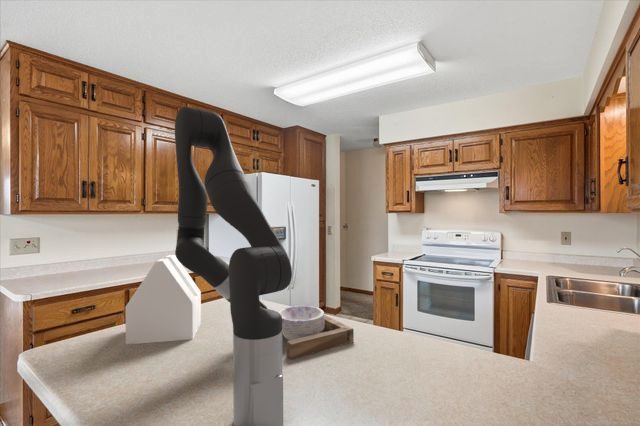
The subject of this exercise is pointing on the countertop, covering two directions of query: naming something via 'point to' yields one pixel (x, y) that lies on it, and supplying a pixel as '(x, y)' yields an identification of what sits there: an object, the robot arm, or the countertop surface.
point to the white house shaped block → (164, 305)
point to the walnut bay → (321, 339)
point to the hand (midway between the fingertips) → (271, 320)
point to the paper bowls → (301, 321)
